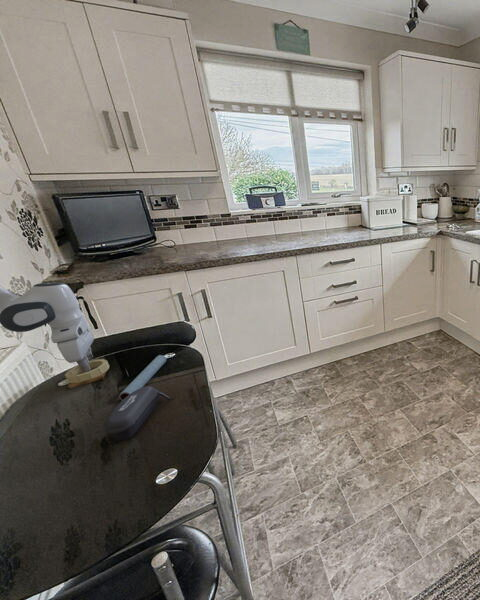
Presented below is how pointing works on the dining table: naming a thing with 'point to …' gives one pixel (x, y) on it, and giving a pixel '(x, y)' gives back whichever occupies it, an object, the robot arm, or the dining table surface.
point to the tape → (74, 378)
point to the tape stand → (85, 368)
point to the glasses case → (132, 413)
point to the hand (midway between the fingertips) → (88, 361)
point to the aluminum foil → (143, 376)
